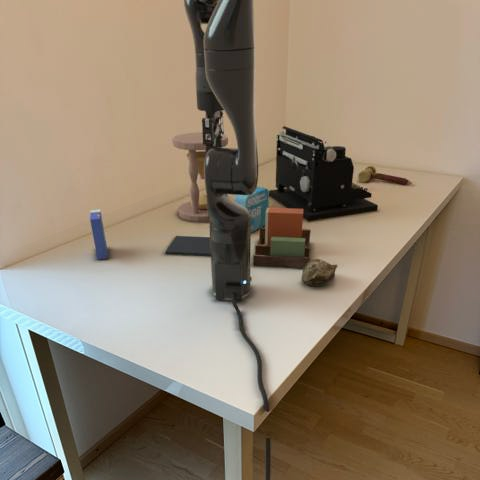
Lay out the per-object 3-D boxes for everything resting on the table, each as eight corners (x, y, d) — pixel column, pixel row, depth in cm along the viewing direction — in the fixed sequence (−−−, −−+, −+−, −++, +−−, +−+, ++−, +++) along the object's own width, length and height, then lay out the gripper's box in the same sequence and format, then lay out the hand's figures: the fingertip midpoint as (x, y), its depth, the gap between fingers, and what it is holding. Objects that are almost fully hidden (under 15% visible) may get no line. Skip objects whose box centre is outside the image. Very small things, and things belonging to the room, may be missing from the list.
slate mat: (235, 257, 130) (235, 254, 129) (165, 254, 132) (165, 251, 132) (240, 241, 140) (240, 238, 139) (176, 238, 142) (175, 235, 142)
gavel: (416, 174, 189) (410, 180, 181) (413, 185, 191) (407, 192, 184) (366, 164, 197) (359, 170, 190) (364, 175, 200) (357, 181, 192)
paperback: (303, 266, 124) (305, 241, 121) (270, 264, 125) (270, 240, 122) (303, 262, 126) (305, 238, 123) (270, 260, 127) (271, 236, 124)
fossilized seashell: (315, 285, 110) (346, 281, 115) (311, 257, 110) (342, 254, 115) (296, 289, 116) (326, 285, 121) (291, 263, 116) (322, 260, 121)
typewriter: (377, 210, 161) (388, 134, 148) (308, 221, 153) (313, 141, 140) (330, 187, 186) (336, 120, 173) (268, 195, 178) (270, 125, 164)
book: (300, 255, 131) (303, 213, 124) (264, 253, 132) (265, 212, 125) (300, 249, 134) (303, 208, 128) (266, 247, 135) (267, 207, 129)
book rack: (308, 268, 123) (309, 253, 121) (253, 266, 125) (253, 250, 122) (309, 244, 137) (310, 229, 135) (259, 241, 139) (259, 227, 137)
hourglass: (198, 202, 171) (194, 130, 158) (238, 210, 163) (238, 135, 150) (168, 216, 158) (161, 139, 145) (210, 225, 151) (207, 145, 137)
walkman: (107, 258, 130) (100, 217, 123) (97, 259, 129) (89, 218, 123) (107, 248, 136) (100, 208, 130) (97, 249, 135) (90, 208, 129)
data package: (246, 235, 143) (245, 196, 137) (234, 232, 146) (233, 194, 139) (268, 224, 151) (269, 187, 145) (257, 221, 154) (257, 185, 147)
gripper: (203, 85, 118) (206, 152, 127) (189, 91, 106) (194, 164, 115) (232, 85, 117) (233, 152, 125) (221, 91, 105) (223, 164, 113)
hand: (214, 158), depth 120 cm, fingers open, 8 cm apart
